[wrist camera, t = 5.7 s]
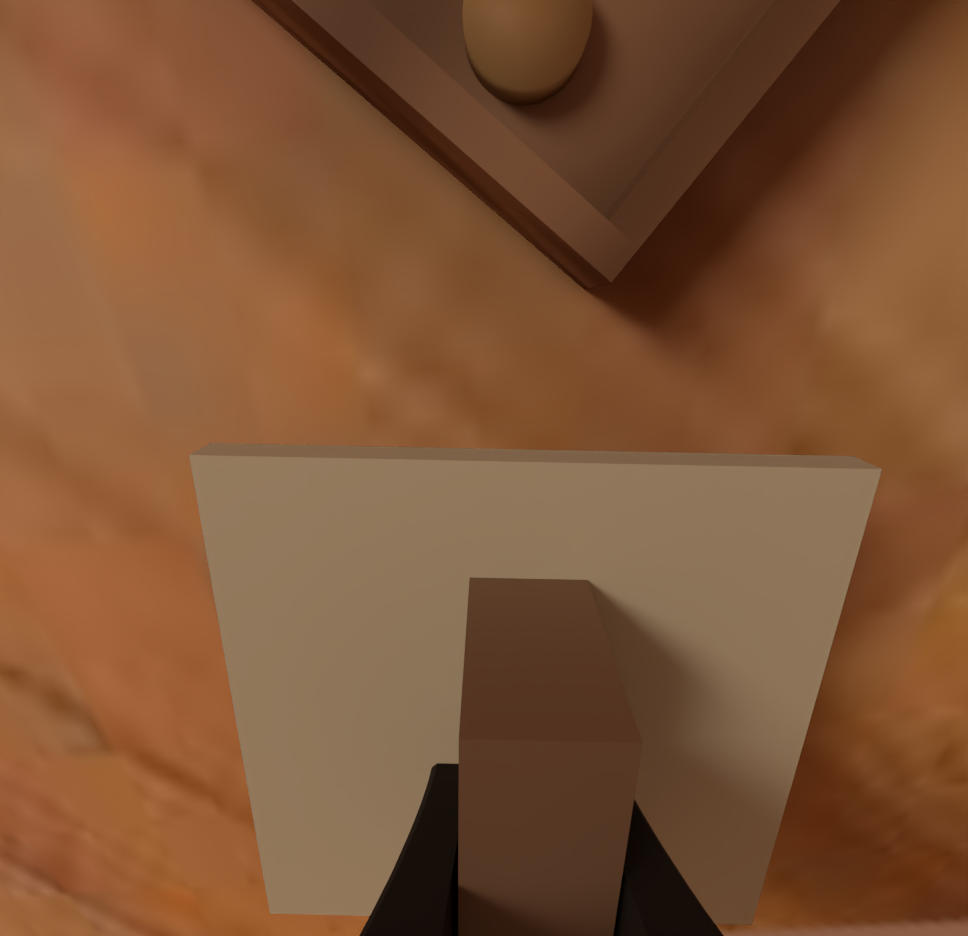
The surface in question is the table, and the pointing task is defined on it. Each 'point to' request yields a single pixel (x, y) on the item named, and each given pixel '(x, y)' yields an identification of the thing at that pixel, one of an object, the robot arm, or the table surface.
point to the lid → (524, 662)
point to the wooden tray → (563, 99)
